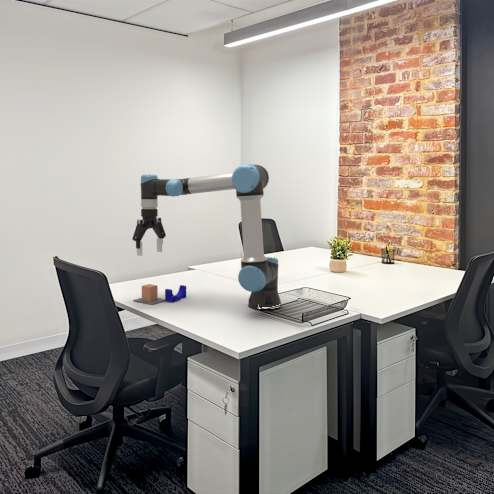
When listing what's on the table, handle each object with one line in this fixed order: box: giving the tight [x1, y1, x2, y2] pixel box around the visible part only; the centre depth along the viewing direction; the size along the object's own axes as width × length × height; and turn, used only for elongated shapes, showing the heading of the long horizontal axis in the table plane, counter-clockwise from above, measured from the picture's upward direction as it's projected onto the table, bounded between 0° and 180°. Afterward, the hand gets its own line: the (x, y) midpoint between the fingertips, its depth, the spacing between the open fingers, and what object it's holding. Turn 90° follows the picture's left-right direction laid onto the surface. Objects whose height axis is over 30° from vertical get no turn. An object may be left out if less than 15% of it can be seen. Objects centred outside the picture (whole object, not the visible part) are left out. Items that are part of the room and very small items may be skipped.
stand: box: [132, 297, 166, 306], centre depth 248 cm, size 12×10×6 cm
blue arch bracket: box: [164, 284, 187, 304], centre depth 252 cm, size 12×4×6 cm, turn 147°
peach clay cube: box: [141, 283, 159, 302], centre depth 248 cm, size 5×5×7 cm
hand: (149, 253), depth 245 cm, fingers open, 13 cm apart
